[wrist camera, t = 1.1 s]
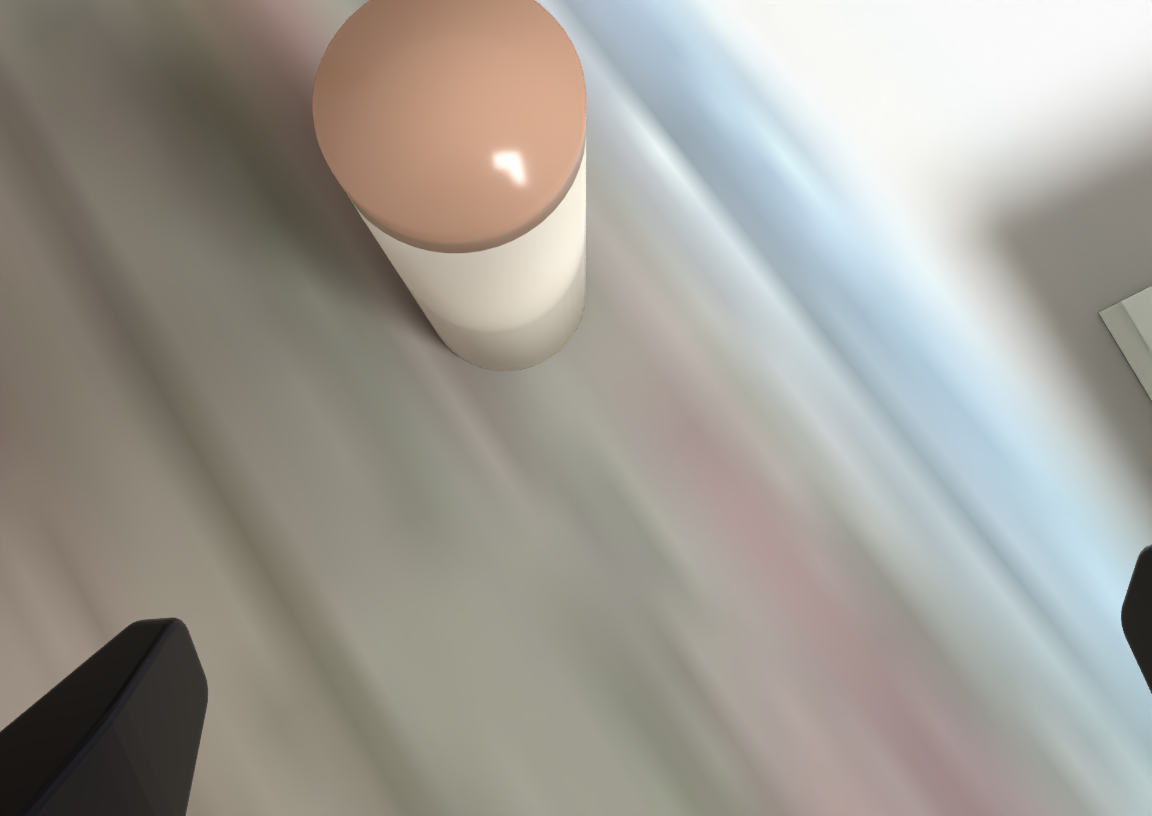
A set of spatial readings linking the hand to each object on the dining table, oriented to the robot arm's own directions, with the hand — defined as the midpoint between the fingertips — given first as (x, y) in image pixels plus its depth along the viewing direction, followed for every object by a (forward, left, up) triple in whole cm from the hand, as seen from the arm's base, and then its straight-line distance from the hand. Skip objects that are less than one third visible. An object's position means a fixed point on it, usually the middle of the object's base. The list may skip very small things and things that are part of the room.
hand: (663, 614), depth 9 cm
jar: (+1, +8, -14) cm, 16 cm away
